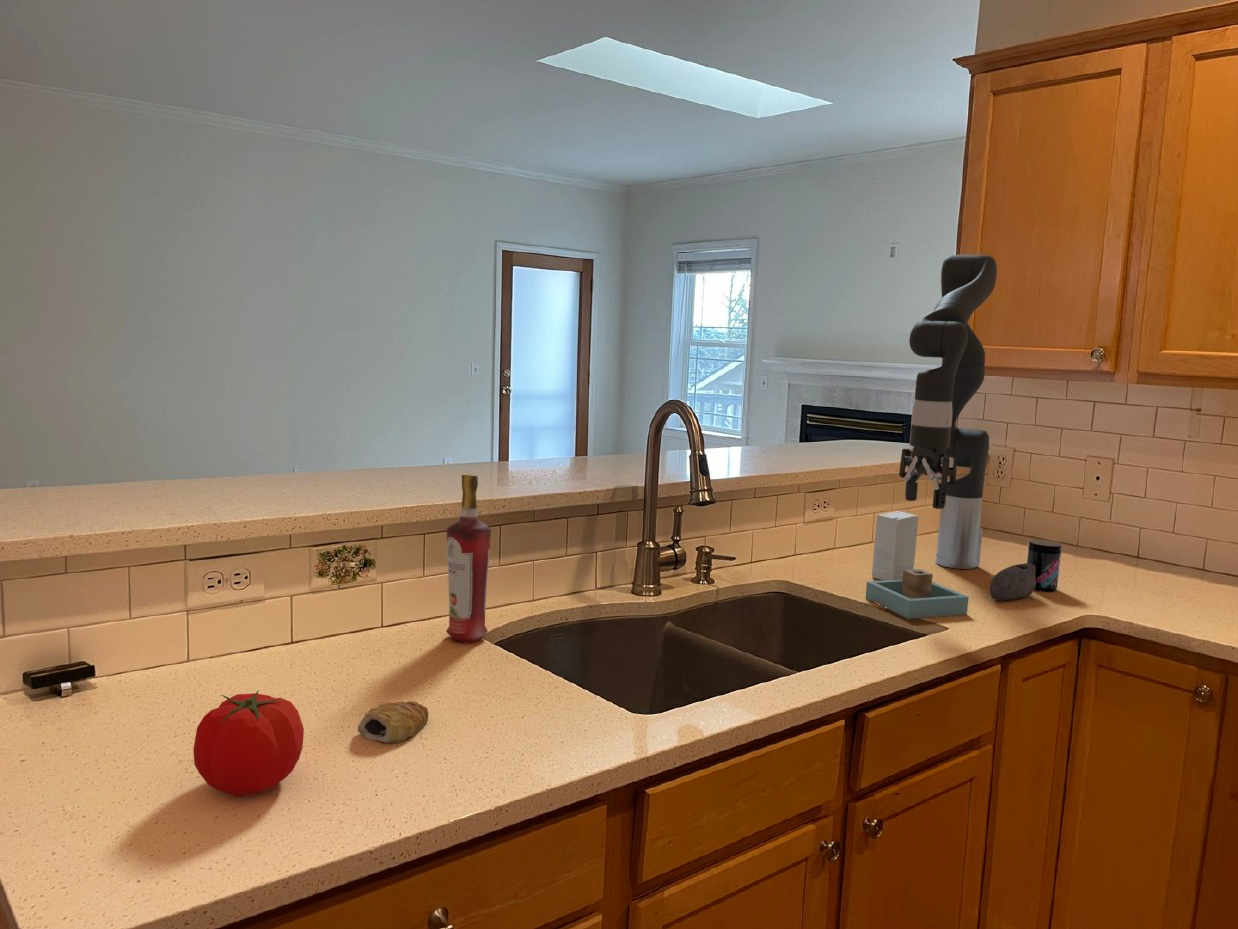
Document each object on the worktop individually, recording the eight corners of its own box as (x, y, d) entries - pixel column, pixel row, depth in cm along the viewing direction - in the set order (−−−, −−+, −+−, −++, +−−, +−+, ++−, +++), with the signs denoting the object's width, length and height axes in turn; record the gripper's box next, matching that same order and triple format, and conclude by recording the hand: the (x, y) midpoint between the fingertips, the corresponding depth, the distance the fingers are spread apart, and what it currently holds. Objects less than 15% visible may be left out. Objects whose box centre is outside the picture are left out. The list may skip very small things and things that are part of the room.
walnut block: (917, 600, 187) (920, 568, 186) (929, 605, 183) (932, 573, 182) (900, 601, 185) (903, 569, 185) (913, 606, 182) (915, 574, 181)
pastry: (402, 712, 124) (402, 685, 123) (441, 723, 121) (442, 696, 120) (353, 737, 116) (353, 709, 115) (394, 750, 113) (394, 721, 112)
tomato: (194, 769, 105) (191, 684, 104) (298, 754, 110) (297, 672, 109) (194, 820, 95) (192, 726, 93) (310, 800, 100) (309, 711, 98)
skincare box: (891, 573, 211) (897, 510, 209) (914, 578, 206) (920, 514, 204) (870, 577, 206) (875, 513, 204) (893, 584, 201) (898, 518, 199)
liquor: (435, 637, 154) (438, 474, 150) (469, 628, 159) (472, 470, 155) (463, 648, 149) (466, 479, 145) (497, 638, 154) (501, 475, 151)
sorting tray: (921, 594, 193) (923, 578, 193) (966, 614, 180) (968, 596, 180) (865, 598, 188) (866, 581, 188) (907, 619, 175) (909, 600, 175)
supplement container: (1028, 591, 200) (1033, 544, 198) (1020, 583, 206) (1025, 538, 205) (1061, 593, 199) (1066, 547, 197) (1051, 585, 205) (1056, 540, 204)
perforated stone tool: (1000, 606, 187) (1003, 573, 186) (977, 599, 192) (980, 567, 191) (1041, 597, 196) (1045, 565, 195) (1019, 591, 200) (1022, 560, 199)
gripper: (971, 427, 174) (963, 511, 176) (923, 419, 187) (917, 497, 189) (939, 427, 171) (931, 512, 173) (893, 419, 184) (886, 498, 187)
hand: (924, 504), depth 181 cm, fingers open, 8 cm apart
